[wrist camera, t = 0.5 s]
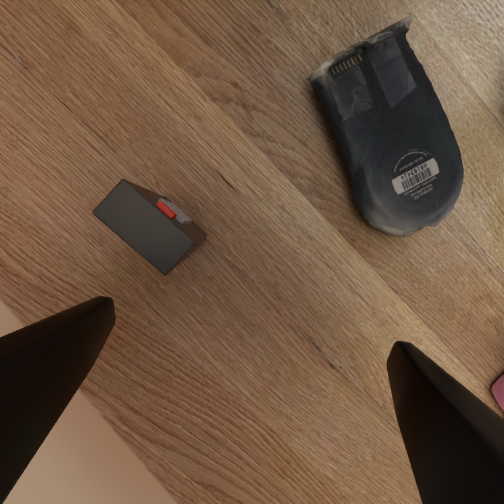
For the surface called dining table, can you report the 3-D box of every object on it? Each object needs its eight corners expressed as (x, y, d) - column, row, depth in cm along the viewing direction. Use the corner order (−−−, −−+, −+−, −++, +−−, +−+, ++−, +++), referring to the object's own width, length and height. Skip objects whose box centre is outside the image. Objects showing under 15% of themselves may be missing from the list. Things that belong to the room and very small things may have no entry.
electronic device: (288, 103, 25) (375, 256, 25) (310, 53, 19) (422, 249, 19) (374, 62, 27) (456, 206, 26) (417, 6, 21) (520, 187, 21)
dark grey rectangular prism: (189, 254, 24) (165, 276, 14) (146, 217, 23) (90, 212, 14) (209, 232, 24) (200, 238, 14) (167, 194, 23) (126, 173, 14)
